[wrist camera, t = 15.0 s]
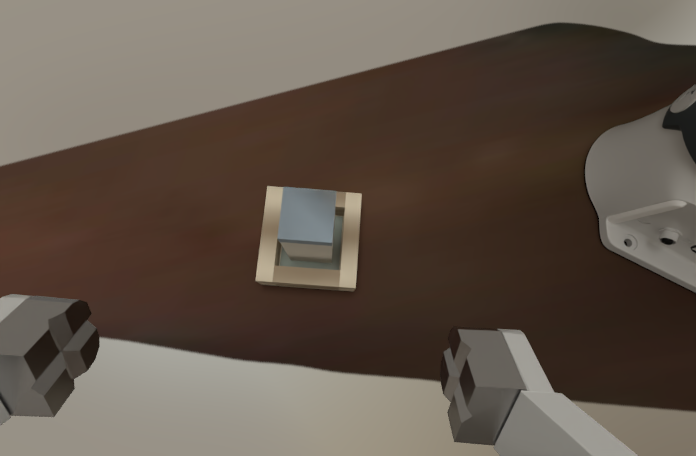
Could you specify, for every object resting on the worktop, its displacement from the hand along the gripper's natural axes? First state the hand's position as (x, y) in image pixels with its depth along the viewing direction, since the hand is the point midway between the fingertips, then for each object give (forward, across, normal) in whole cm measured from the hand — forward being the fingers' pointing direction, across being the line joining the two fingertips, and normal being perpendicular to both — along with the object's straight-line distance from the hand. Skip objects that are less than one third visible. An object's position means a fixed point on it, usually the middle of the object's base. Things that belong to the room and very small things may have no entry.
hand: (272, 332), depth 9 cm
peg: (+26, +1, +15) cm, 30 cm away
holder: (+26, +1, +15) cm, 30 cm away
